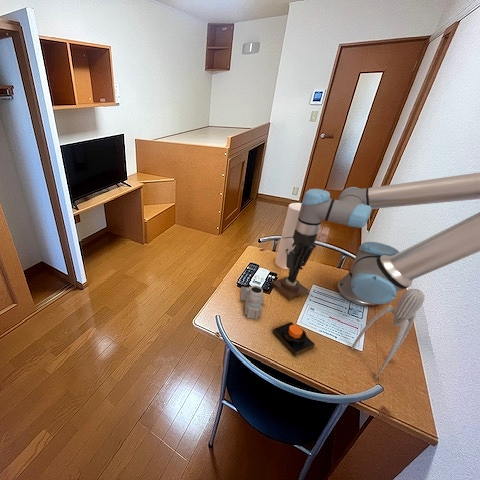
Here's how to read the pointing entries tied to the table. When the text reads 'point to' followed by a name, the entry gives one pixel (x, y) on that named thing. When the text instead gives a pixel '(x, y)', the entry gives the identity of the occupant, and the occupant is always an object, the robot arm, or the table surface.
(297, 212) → the container
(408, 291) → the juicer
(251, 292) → the grey pipe fitting
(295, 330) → the orange button
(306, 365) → the table surface
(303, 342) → the dark button base
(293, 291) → the brown button base
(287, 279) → the cream button
